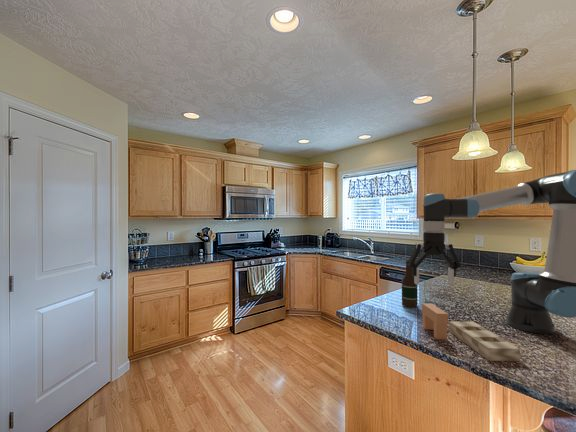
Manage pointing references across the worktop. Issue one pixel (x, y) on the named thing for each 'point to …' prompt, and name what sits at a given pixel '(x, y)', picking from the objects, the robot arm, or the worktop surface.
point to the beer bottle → (409, 289)
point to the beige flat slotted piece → (485, 341)
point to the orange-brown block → (435, 320)
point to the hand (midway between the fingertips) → (433, 284)
